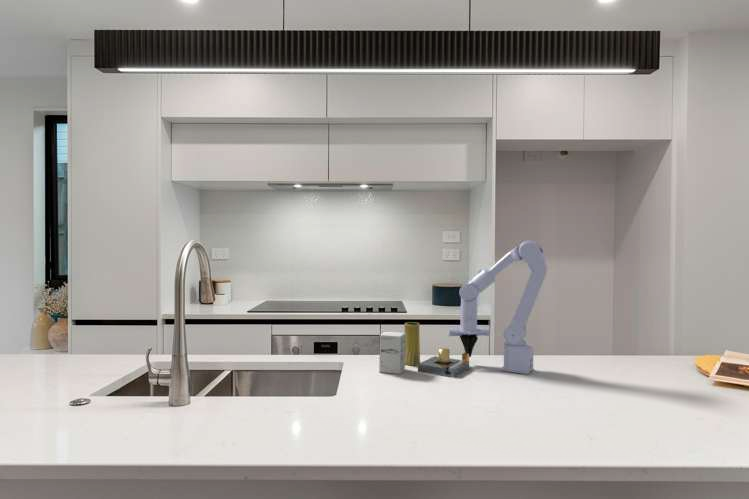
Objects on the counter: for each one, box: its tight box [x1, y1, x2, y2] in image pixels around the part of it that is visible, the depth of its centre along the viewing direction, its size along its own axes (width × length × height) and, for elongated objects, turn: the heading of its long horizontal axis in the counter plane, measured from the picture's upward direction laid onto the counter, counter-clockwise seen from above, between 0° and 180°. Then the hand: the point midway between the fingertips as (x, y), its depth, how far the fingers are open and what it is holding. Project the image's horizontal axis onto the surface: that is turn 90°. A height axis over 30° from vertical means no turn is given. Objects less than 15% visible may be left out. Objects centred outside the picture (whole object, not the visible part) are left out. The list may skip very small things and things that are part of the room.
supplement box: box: [378, 331, 406, 375], centre depth 171 cm, size 7×7×13 cm
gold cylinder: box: [438, 347, 450, 365], centre depth 173 cm, size 4×4×7 cm
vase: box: [404, 321, 421, 367], centre depth 181 cm, size 6×6×14 cm
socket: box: [417, 355, 470, 378], centre depth 173 cm, size 13×13×2 cm
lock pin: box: [448, 352, 470, 372], centre depth 172 cm, size 2×14×4 cm, turn 148°
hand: (468, 356), depth 180 cm, fingers closed
